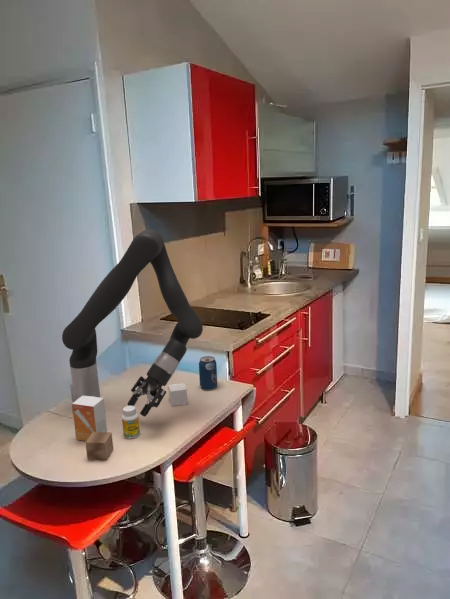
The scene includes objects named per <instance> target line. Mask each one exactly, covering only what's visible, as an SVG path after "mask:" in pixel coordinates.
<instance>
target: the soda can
mask: <svg viewBox="0 0 450 599" xmlns="http://www.w3.org/2000/svg"><path fill="white" fill-rule="evenodd" d="M217 367H218V366H217V361H216V358H215V357H214V356H210V355H206V356H201V358H200V359H199V362H198V371H199V372H198V374H199V375H198V376H199V386H200V388H201V389H202V390H205V391H210V390H211V391H212V390H214V389H216V388H217V386H218V370H217V369H218V368H217Z"/></svg>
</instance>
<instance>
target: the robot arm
mask: <svg viewBox="0 0 450 599" xmlns="http://www.w3.org/2000/svg"><path fill="white" fill-rule="evenodd" d="M149 264H150V265H151V266H152V268H153V271H154V272H155V275H156V279H157V281H158V286H159V290H160V293H161V296H162V299H163V300H164V302H165V304H166V306H167V308H168V310H169V313H171V315H173V316H174V317H175V318H176V319H177V321H178V322H176V324H175V326H174V328H173V330H172V333H171V335H170V337H169V340H168V342H167V343H166V344H165V346H164V347H163V349H162V350H161V352H160V353H159V354H158V356H157V357H156V359H155V360H154V362H153V363H152V365H151V366H150V368H149V369H148V370H147V372H146V376H147V377H143V376H142V375H141V376H139V378H138V379H137V381H136V382H135V383H134V385H133V386H132V388H131V389H130V391H131V392H132V395H131V397H130V398H129V400H128V402H127V405H126V406H135V405H136V403H137V401H138V400H139V398H141V397H142V396H146V403H145V404H144V406H143V407H142V409H141V411H140V412H139V415H141V416H142V417H144V418H145V417H147V415H148V414H149V413H150V411H151V410H152V408H158V407H160V406H159V405H160V404H161V403H162V400H163V399H164V398H165V396H166V394H167V390H165V389H164V388H163V387H165V386H167V384H168V382H169V381H170V380H171V378H172V376H173V375H174V373H175V371H176V370H177V368H178V366H179V365H180V363H181V361H182V360H183V358H184V356H185V355H186V353H187V351H188V349H187V344H188V342H189V340H190V339H192V340H195V339H197V338H199V337H201V335H202V333H203V331H204V330H203V329H204V328H203V327H204V326H203V323H202V321H201V319H200V316H199V315H198V314H197V313H196V311H195V310H194V308H193V307H192V306H191V305H190V303H189V300H188V298H187V296H186V293H185V291H184V290H183V288H182V286H181V284H180V282H179V280H178V278H177V275H176V273H175V271H174V268H173V266H172V264H171V260H170V258H169V255H168V251H167V248H166V244H165V242H164V238H163V236H162V235H161V233H159V232H158V231H157V230H156V229H151V228H149V229H144V230H143V231H141V232H139V233H137V235H136V236H134V237H133V238H132V241H131V242H130V244H129V246H128V248H127V249H126V250H125V253H124V255H123V256H122V257H121V259H120V260H119V261H118V263H117V264H116V265H115V266H114V267H113V268H112V269H111V270H110V271H109V272H108V274H106V275H105V277H104V278H103V279H102V281H101V282H100V283H99V285H98V286H97V287H96V288H95V290H94V291H93V292H92V294H91V296H90V297H89V299H88V301H87V302H86V303H85V305H84V306H83V308H82V310H81V311H80V312H79V313H78V315H77V316H75V317H74V318H73V320H72V321H71V322H70V323H69V324H68V325H67V326H65V328H64V329H63V331H62V333H61V334H62V336H61V339H62V343H63V346H65V348H67V349H69V350H72V352H71V354H70V357H69V360H68V361H69V367H70V368H69V369H70V376H71V384H70V386H69V387H70V394H71V395H70V396H71V402H72V403H73V402H75V401H76V400H77V399H79V398H80V397H81V396H93V397H100V398H101V392H100V390H101V389H100V381H99V380H100V379H99V373H98V363H97V357H98V356H97V355H98V341H97V340H98V338H97V331H96V328H97V326H98V325H99V324H100V323H101V322H102V321H103V320H104V319H106V318H107V317H108V316H109V315H111V313H113V311H115V309H116V308H117V307H119V305H120V304H121V303H122V301H123V300H124V299H125V298H126V296H127V295H128V293H129V292H130V290H131V288H132V287H133V285H134V282H135V281H136V279H137V278H138V275H139V274H140V273H141V272H142V271H143V270H144V269H145V268H146V267H147V266H148V265H149ZM72 403H71V404H72Z"/></svg>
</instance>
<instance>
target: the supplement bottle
mask: <svg viewBox="0 0 450 599" xmlns="http://www.w3.org/2000/svg"><path fill="white" fill-rule="evenodd" d="M122 412H123V414H122V415H121V423H122V434H123V437H124V438H126V439H129V440H130V439H131V440H132V439H137V437H139V436H140V434H141V428H140V418H139V413H138V412H137V409H136V406H135V405H134V406H128V405H126V406H124V407H123V408H122Z"/></svg>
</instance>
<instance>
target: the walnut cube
mask: <svg viewBox="0 0 450 599" xmlns="http://www.w3.org/2000/svg"><path fill="white" fill-rule="evenodd" d="M84 442H85V443H84V444H85V451H86V458H87V459H86V460H87V461H105V462H106V461H108V459H109V457H110V456H111V455H112V453H113V451H114V444H113V443H114V442H113V432H112V431H111V432H108V431H107V432H93V433H92V434H91V435H90V437H89V438H88V440H87V441H84Z"/></svg>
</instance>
